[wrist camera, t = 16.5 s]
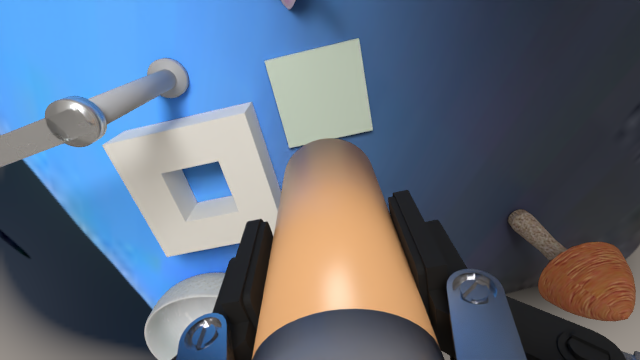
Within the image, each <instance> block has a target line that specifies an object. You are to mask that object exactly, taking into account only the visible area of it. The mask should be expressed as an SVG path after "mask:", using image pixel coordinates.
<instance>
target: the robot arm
mask: <svg viewBox="0 0 640 360" xmlns="http://www.w3.org/2000/svg"><path fill="white" fill-rule="evenodd" d="M388 202H389V209H390V216H391V219H392V222H393V224H394V227H395V230H396V232H397V235H398V238H399V240H400V243H401V246H402V248H403V251H404V254H405V256H406V259H407V262H408V264H409V267H410V270H411V272H412V275H413V278H414V281H415V283H416V286H417V289H418V291H419V294H420V296H421V299H422V301H423V304H424V307H425V309H426V312H427V315H428V317H429V320H430V323H431V325H432V328H433V331H434V333H435V336H436V339H437V341H438V344H439V347H440V349H441V351H443V352H445V353H447V354H448V355H450V360H640V352H637V351H635V352H634V354H633V355H632V354H628V353H625V352H622V351H621V350H620V349H619V348H618V347H617V346H616V345H615V344H614V343H613V342H611V341H610V340H609V339H607V338H606V337H604V336H602V335H600V334H599V333H596V332H594V331H592V330H590V329H587V328H585V327H582V326H580V325H577V324H575V323H572V322H570V321H567V320H565V319H562V318H560V317H557V316H555V315H552V314H550V313H547V312H545V311H542V310H540V309H537V308H535V307H532V306H530V305H527V304H525V303H522V302H520V301H517V300H515V299H512V298H510V297H507V296H506V295H505V292H504V289H503V287H502V285H501V283H500V282H499V281H498V280H497V279H496V278H495V277H494V276H492V275H491V274H489V273H487V272H484V271H481V270H477V269H467V267H466V266H465V264H464V262H463V260H462V259H461V257H460V255H459V254H458V252H457V250H456V249H455V247H454V245H453V244H452V242H451V240H450V239H449V237H448V235H447V234H446V232H445V230H444V229H443V227H442V225H441V223H440V222H439V221H438V220H433V221H428V222H425V221H424V220H423V218H422V216H421V214H420V212H419V210H418V208H417V206H416V204H415V202H414V200H413V199H412V197H411V195H410V193H409V191H408V190H405V191H399V192H394V193H393V197H389V198H388ZM272 242H273V234H272V231H271V228H270V225H269V223H268V222H267V221H266V222H264V221H263V220H262V219H257V220H252V221H248V222H247V223H246V226H245V229H244V232H243V235H242V238H241V242H240V245H239V248H238V251H237V254H236V257H235V258H232V259H231V260H230V262H229V264H228V267H227V270H226V273H225V276H224V279H223V282H222V285H221V288H220V291H219V294H218V297H217V300H216V303H215V306H214V309H213V312H212V313H209V314H205V315H203V316H201V317H198V318H197V319H195V320H194V321H193V322H191V323H190V324H189V325H188V326H187V327H186V329H185V330H184V332H183V333H182V335H181V337H180V340H179V345H178V352H177V355H176V356H175V357H174V358H172V359H171V360H252V355H253V350H254V344H255V338H256V333H257V327H258V321H259V316H260V310H261V304H262V299H263V293H264V287H265V282H266V276H267V270H268V265H269V259H270V253H271V248H272Z"/></svg>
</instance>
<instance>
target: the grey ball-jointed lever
mask: <svg viewBox="0 0 640 360" xmlns="http://www.w3.org/2000/svg"><path fill="white" fill-rule="evenodd" d="M106 129H107V122H106V119H105V116H104V114H103V112H102V111H101V110H100V108H99V107H98V106H97V105H95V104H94V103H93V102H91V101H90V100H88V99H86V98H83V97H79V96H69V97H66V98H63V99H60V100H58V101H55V102H53V103H51V104H50V105H49V106H48V107H47V109H46V111H45V118H44V119H42V120H39V121H36V122H34V123H31V124H29V125H26V126H24V127H21V128H19V129H16V130H14V131H11V132H8V133H6V134H3V135H1V136H0V167H2V166H4V165H7V164H10V163H13V162H15V161H18V160H20V159H23V158H26V157H28V156H31V155H34V154H36V153H39V152H42V151H44V150H47V149H50V148H52V147H55V146H58V145H60V144H63V143H65V144H67V145H70V146H74V147H85V146H88V145H90V144H92V143H93V142H95V141H97V140H98V139H100V138H101V137H102V136H103V135H104V134H105V132H106Z"/></svg>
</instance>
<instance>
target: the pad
mask: <svg viewBox="0 0 640 360" xmlns="http://www.w3.org/2000/svg"><path fill="white" fill-rule="evenodd" d="M265 64H266V68H267V71H268V75H269V78H270V82H271V85H272V89H273V92H274V96H275V99H276V103H277V106H278V110H279V113H280V117H281V120H282V124H283V127H284V131H285V134H286V138H287V141H288V145H289V148H292V147H297V146H301V145H306V144H308V143H310V142H312V141H316V140H319V139H327V138H333V139H334V138H339V137H343V136H348V135H353V134H357V133H362V132H367V131H371V130H373V128H372V121H371V115H370V108H369V102H368V95H367V88H366V82H365V75H364V68H363V62H362V55H361V49H360V42H359V38H357V39H352V40H348V41H344V42H340V43H336V44H332V45H327V46H323V47H319V48H315V49H311V50H307V51H302V52H298V53H294V54H290V55H286V56H282V57H277V58H273V59H269V60H265Z"/></svg>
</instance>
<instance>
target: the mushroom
mask: <svg viewBox="0 0 640 360" xmlns="http://www.w3.org/2000/svg"><path fill="white" fill-rule="evenodd" d="M508 218H509V219H508V222H509V224H510V225H511V227H512V228H513V229H514V231H516V232H517V233H518V234H519V235H521V236H522V237H523V238H524V239H526V240H527V241H528V242H529V243H531V244H532V245H533V246H534V247H536V248H537V249H538V250H539V251H540V252H541V253H542V254H543V255H544V256H545V257H546V258H547V259H548V260H549V261H550V262H549V263H548V265H547V266H546V268H544V269H543V271H542V273H541V276H540V278H539V283H538V287H539V292H540V294H541V296H542V297H543V298H544V299H545V300H547V301H549V302H550V303H552V304H554V305H556V306H557V307H559V308H561V309H563V310H565V311H567V312H570V313H573V314H575V315H578V316H582V317H586V318H590V319H596V320H602V321H619V320H625V319H628V317H629V316H630V315H631V313H632V312H633V309H634V305H635V292H636V290H635V284H634V278H633V275H632V273H631V270H630V268H629V266H628V264H627V262H626V260H625V258H624V257H623V255H622V253H621V252H620V250H619V249H618V248H617V247H615V246H614V245H611V244H609V243H604V242H590V243H584V244H581V245H578V246H572V247H571V248H569V249H568V250H567V249H566V248H565V247H563V246H562V245H561V244H560V243H559V242H557V241H556V240H555V239H554V238H553V237H552V236H551V235H550V234H549V233H548V231H547V230H546V229H545V228H544V227H543V226H542V225H541V224H540V223H539V222H538V221H537V220H536V219H535V218H534V217H533V215H531V214H530V213H528V212H527V211H525V210H523V209H522V210H521V209H519V210H516V211H514V212H513V213H511V215H509V217H508Z"/></svg>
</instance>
